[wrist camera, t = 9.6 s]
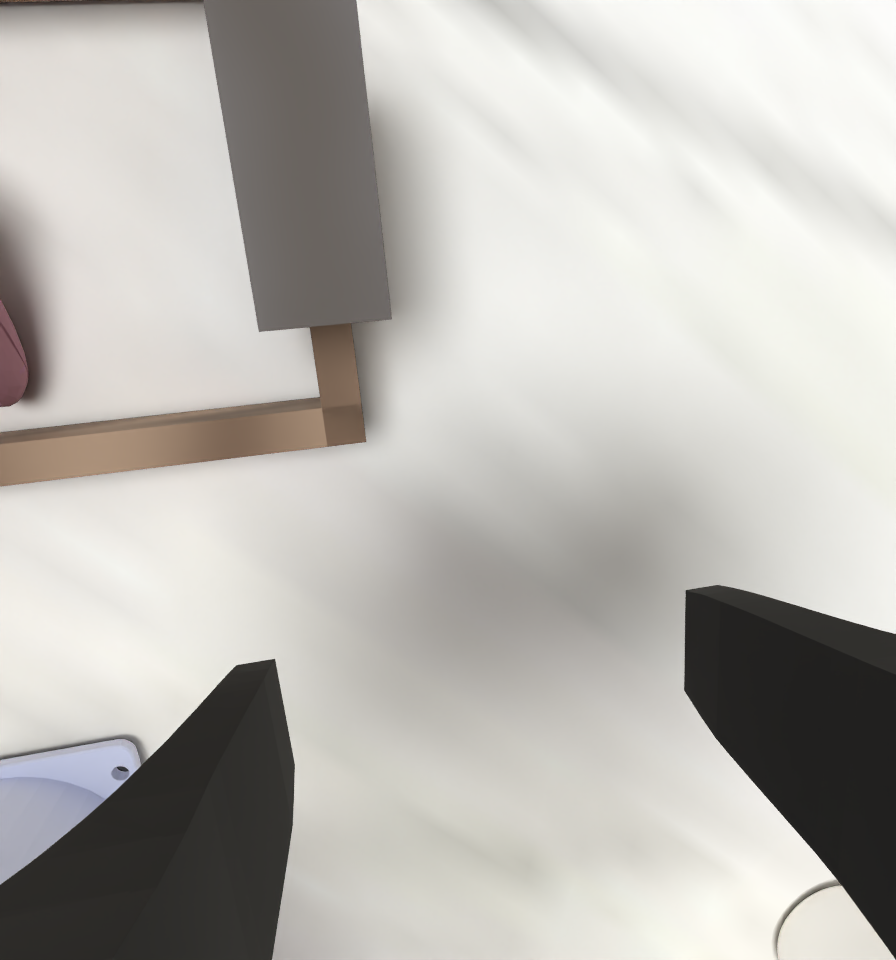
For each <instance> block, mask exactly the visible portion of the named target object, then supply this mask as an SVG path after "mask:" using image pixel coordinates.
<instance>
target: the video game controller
mask: <svg viewBox="0 0 896 960" xmlns="http://www.w3.org/2000/svg"><path fill="white" fill-rule="evenodd" d="M28 378H29V372H28V367H27V361H26V357H25V352H24V350H23V347H22V345H21V342H20V340H19V337H18V334H17V332H16V329H15V327H14V324H13V323H12V321H11V319H10V317H9V315H8V313H7V311H6V309H5V307H4V305H3V303H2V301H1V300H0V407H6V406H11V405H13V404H15V403H16V402H18V401H19V400H20V399H21V398H22V396H23V394H24V391H25V389H26V386H27V384H28Z"/></svg>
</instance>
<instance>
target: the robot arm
mask: <svg viewBox="0 0 896 960" xmlns="http://www.w3.org/2000/svg"><path fill="white" fill-rule="evenodd" d="M684 691H685V692H686V694H687V695H688V697H689V698H690V700H691V702H692V703H693V705H694V706H695V708H696V709H697V711H698V713H699V714H700V716H701V717H702V719H703V720H704V722H705V723H706V725H707V726H708V727H709V729H710V730H711V732H712V733H713V735H714V736H715V738H716V739H717V740H718V741H719V743H720V744H721V745H722V746H723V747H724V749H725V750H726V751H727V752H728V753H729V754H730V756H731V757H732V758H733V759H734V760H735V761H736V763H737V764H738V765H739V766H740V767H741V768H742V770H743V771H744V772H745V773H746V774H747V775H748V777H749V778H750V779H751V780H752V781H753V782H754V783H755V785H756V786H757V787H758V788H759V789H760V790H761V791H762V793H763V794H764V795H765V796H766V797H767V798H768V799H769V800H770V802H771V803H772V804H773V805H774V806H775V807H776V808H777V810H778V811H779V812H780V813H781V814H782V815H783V816H784V818H785V819H786V820H787V821H788V822H789V823H790V824H791V826H792V827H793V828H794V829H795V830H796V831H797V832H798V833H799V835H800V836H801V837H802V838H803V839H804V840H805V841H806V843H807V844H808V845H809V846H810V847H811V848H812V849H813V851H814V852H815V853H816V854H817V855H818V857H819V858H820V859H821V860H822V862H823V863H824V864H825V865H826V866H827V868H828V869H829V870H830V871H831V873H832V874H833V875H834V876H835V877H836V879H837V880H838V881H839V883H840V884H841V885H842V887H843V888H844V889H845V891H846V892H847V893H848V895H849V896H850V898H851V899H852V900H853V902H854V903H855V904H856V906H857V907H858V908H859V910H860V911H861V913H862V914H863V915H864V917H865V918H866V919H867V921H868V922H869V924H870V925H871V926H872V928H873V929H874V930H875V932H876V933H877V934H878V936H879V937H880V939H881V940H882V941H883V943H884V944H885V945H886V947H887V948H888V950H889V951H890V953H891V954H892V955H893V957H894V958H895V960H896V634H893V633H889V632H885V631H881V630H877V629H874V628H870V627H867V626H863V625H860V624H856V623H853V622H849V621H846V620H843V619H839V618H836V617H832V616H829V615H826V614H822V613H819V612H816V611H812V610H809V609H806V608H803V607H799V606H796V605H793V604H789V603H786V602H783V601H779V600H776V599H773V598H769V597H766V596H762V595H759V594H755V593H751V592H748V591H744V590H740V589H735V588H731V587H726V586H720V585H715V586H709V587H703V588H697V589H691V590H686V608H685V681H684ZM118 766H124V767H126V768H127V769H128V770H129V771H127V772H124V771H120V770H118V769H117V767H118ZM294 772H295V764H294V758H293V753H292V748H291V742H290V737H289V732H288V726H287V721H286V716H285V710H284V705H283V700H282V694H281V689H280V684H279V678H278V673H277V668H276V662H275V659H272V660H266V661H260V662H254V663H248V664H242V665H236V666H235V667H234V668H233V669H232V670H231V671H230V672H229V673H228V674H227V676H226V677H225V678H224V679H223V680H222V681H221V682H220V683H219V684H218V685H217V687H216V688H215V689H214V690H213V691H212V692H211V693H210V694H209V695H208V697H207V698H206V699H205V700H204V701H203V702H202V703H201V704H200V705H199V707H198V708H197V709H196V710H195V711H194V712H193V713H192V714H191V715H190V716H189V717H188V718H187V719H186V721H185V722H184V723H183V724H182V725H181V726H180V727H179V728H178V729H177V730H176V731H175V732H174V733H173V734H172V736H171V737H170V738H169V739H168V740H167V741H166V742H165V743H164V744H163V745H162V746H161V747H160V748H159V749H158V750H157V751H156V752H155V753H154V754H153V755H152V756H151V757H150V758H149V759H148V760H147V761H145V762H144V763H143V764H142V765H141V763H140V759H139V755H138V751H137V749H136V747H135V745H134V744H133V743H132V742H130V741H128V740H125V739H115V740H110V741H104V742H99V743H93V744H87V745H82V746H76V747H71V748H65V749H59V750H54V751H48V752H43V753H37V754H31V755H26V756H20V757H15V758H9V759H3V760H0V960H272V955H273V948H274V942H275V936H276V929H277V923H278V917H279V910H280V904H281V898H282V891H283V885H284V879H285V872H286V866H287V859H288V853H289V846H290V839H291V833H292V826H293V803H294Z"/></svg>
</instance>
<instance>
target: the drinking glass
mask: <svg viewBox="0 0 896 960" xmlns="http://www.w3.org/2000/svg"><path fill="white" fill-rule="evenodd" d="M777 952H778V958H779V960H895V958H894V957H893V955H892V954H891V953H890V951H889V950H888V948H887V947H886V945H885V944H884V943H883V941H882V940H881V939H880V937H879V936H878V934H877V933H876V932H875V930H874V929H873V928H872V926H871V925H870V924H869V922H868V921H867V919H866V918H865V917H864V915H863V914H862V913H861V911H860V910H859V908H858V907H857V906H856V904H855V903H854V902H853V900H852V899H851V898H850V896H849V895H848V893H847V892H846V891H845V889H844V888H843V887H842V885H841V886H833V887H829V888H826V889H823V890H820V891H818V892H816V893H814V894H812V895H810V896H809V897H807V898H806V899H804V900H803V901H802V902H801V903H799V904H798V905H797V906H796V907H795V908H794V909H793V910H792V912H791V913H790V914H789V915H788V917H787V918H786V920H785V922H784V923H783V925H782V928H781V930H780V933H779V937H778V944H777Z"/></svg>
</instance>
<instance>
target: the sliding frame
mask: <svg viewBox="0 0 896 960" xmlns="http://www.w3.org/2000/svg"><path fill="white" fill-rule="evenodd" d="M36 1H85V0H0V2H36ZM203 2H204V8H205V14H206V19H207V25H208V31H209V37H210V43H211V49H212V55H213V61H214V67H215V73H216V79H217V85H218V91H219V97H220V103H221V109H222V115H223V121H224V126H225V132H226V138H227V144H228V150H229V156H230V162H231V168H232V174H233V180H234V186H235V192H236V198H237V204H238V210H239V216H240V222H241V228H242V234H243V239H244V245H245V251H246V257H247V263H248V269H249V275H250V281H251V287H252V293H253V299H254V305H255V311H256V317H257V323H258V329H259V332H262V331H273V330H283V329H294V328H305V327H310V331H311V338H312V345H313V352H314V359H315V365H316V372H317V379H318V386H319V393H320V397H318V398H309V399H300V400H291V401H282V402H273V403H264V404H255V405H246V406H237V407H228V408H219V409H209V410H200V411H191V412H182V413H173V414H164V415H155V416H146V417H137V418H128V419H119V420H110V421H100V422H91V423H82V424H73V425H64V426H55V427H46V428H37V429H28V430H19V431H10V432H1V433H0V486H7V485H16V484H24V483H32V482H40V481H49V480H57V479H65V478H73V477H82V476H90V475H98V474H106V473H115V472H123V471H131V470H139V469H147V468H156V467H164V466H172V465H180V464H189V463H197V462H205V461H213V460H222V459H230V458H238V457H246V456H255V455H263V454H271V453H279V452H288V451H296V450H304V449H312V448H321V447H329V446H337V445H345V444H353V443H362V442H366V436H365V428H364V421H363V413H362V405H361V397H360V389H359V382H358V374H357V366H356V358H355V351H354V343H353V335H352V327H351V323H358V322H368V321H379V320H389V319H392V317H391V308H390V299H389V290H388V281H387V272H386V263H385V254H384V245H383V236H382V228H381V219H380V210H379V201H378V192H377V183H376V174H375V165H374V156H373V147H372V138H371V129H370V120H369V111H368V102H367V93H366V84H365V75H364V66H363V57H362V48H361V39H360V30H359V21H358V12H357V3H356V0H203Z"/></svg>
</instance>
